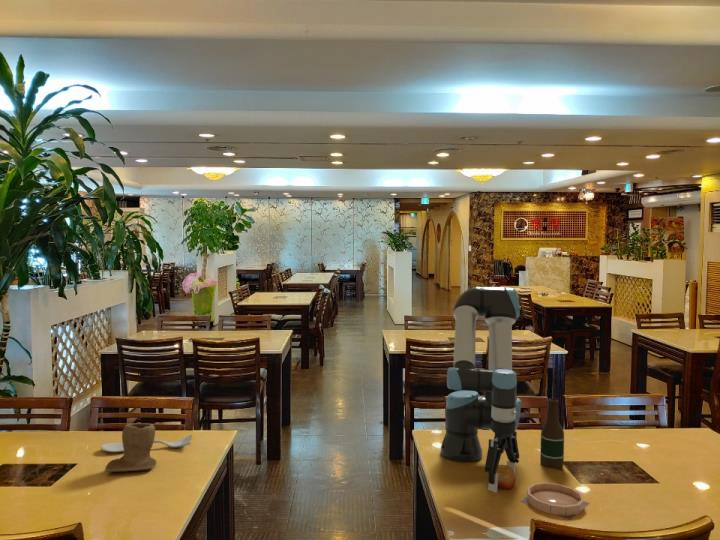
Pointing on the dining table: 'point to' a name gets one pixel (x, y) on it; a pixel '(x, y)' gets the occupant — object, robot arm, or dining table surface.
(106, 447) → the spoon
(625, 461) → the dining table surface
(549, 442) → the beer bottle
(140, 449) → the brown boot
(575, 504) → the bowl
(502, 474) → the fruit
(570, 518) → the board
